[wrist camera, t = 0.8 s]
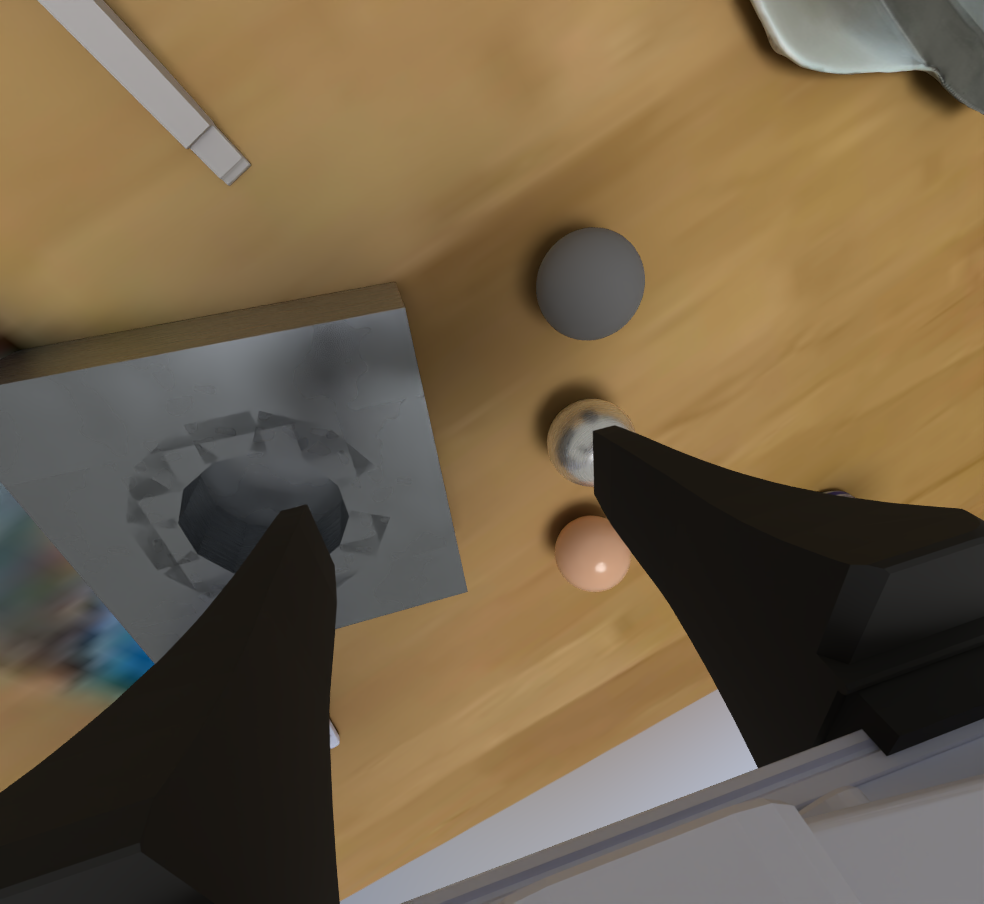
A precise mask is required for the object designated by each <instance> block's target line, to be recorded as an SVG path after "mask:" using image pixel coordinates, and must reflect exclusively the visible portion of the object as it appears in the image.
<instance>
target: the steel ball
mask: <svg viewBox="0 0 984 904" xmlns="http://www.w3.org/2000/svg"><path fill="white" fill-rule="evenodd" d="M613 425H616V426H619V427H622V428H624V429H627V430H629V431H632V432H634V433H636V432H635V429H634V426H633V424H632V422H631V420H630V419H629V417H628V416H627V415H626V414H625V412H624V411H623V410H621V409H620V408H619V407H617V406H616V405H614V404H612V403H610V402H608V401H605V400H600V399H584V400H580V401H576V402H574V403H572V404H570V405H568V406H567V407H565V408H564V409H563V410H562V411H560V412H559V414H558V415H557V416H556V417H555V419H554V420H553V422H552V424H551V426H550V428H549V432H548V437H547V449H548V454H549V457H550V460H551V462H552V464H553V466H554V467H555V468H556V470H557V471H558V472H559V473H560V474H561V475H562V476H563V477H564V478H566V479H567V480H569V481H571V482H573V483H575V484H578V485H582V486H590V487H594V468H593V431H594V430H598V429H602V428H606V427H609V426H613Z"/></svg>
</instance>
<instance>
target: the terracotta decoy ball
mask: <svg viewBox="0 0 984 904" xmlns="http://www.w3.org/2000/svg"><path fill="white" fill-rule="evenodd" d="M555 560H556V564H557V566H558V569H559V571H560V572H561V574H562V576H563V577H564V578H565V579H566V580H567V581H568V582H569V583H570V584H572V585H573V586H575V587H577V588H578V589H581V590H584V591H589V592H600V591H605V590H608V589H610V588H612V587H614V586H616V585H617V584H618V583H619V582H620V581H621V580H622V579H623V578H624V577H625V575H626V573H627V571H628V569H629V566H630V562H631V551H630V550H629V549H628V547H627V546H626V545H625V543H624V542H623V540H622V539H621V538H620V536H619V535H618V534H617V532H616V531H615V530H614V528H613V527H612V525H611V524H610V522H609V520H608V519H606V518H603V517H600V516H583V517H579V518H577V519H574V520H573V521H571V522H570V523H568V524H567V525H566V526H565V527H564V528H563V529H562V531H561V532H560V534H559V536H558V538H557V541H556V544H555Z"/></svg>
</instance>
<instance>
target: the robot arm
mask: <svg viewBox="0 0 984 904" xmlns="http://www.w3.org/2000/svg"><path fill="white" fill-rule="evenodd" d="M593 468H594V495H595V496H596V498H597V500H598V502H599V504H600V506H601V508H602V510H603V512H604V513H605V515H606V517H607V519H608V520H609V522H610V524H611V525H612V527H613V528H614V530H615V531H616V532H617V534H618V535H619V536H620V538H621V539H622V540H623V542H624V543H625V545H626V546H627V547H628V549H629V550H630V551H631V553H632V554H633V555H634V557H635V558H636V559H637V561H638V562H639V563H640V565H641V566H642V567H643V569H644V570H645V571H646V573H647V574H648V575H649V577H650V578H651V579H652V581H653V582H654V583H655V585H656V586H657V587H658V588H659V590H660V591H661V593H662V594H663V596H664V597H665V599H666V600H667V602H668V603H669V604H670V606H671V608H672V609H673V611H674V613H675V614H676V616H677V618H678V619H679V621H680V623H681V625H682V626H683V628H684V630H685V631H686V633H687V635H688V636H689V638H690V640H691V641H692V643H693V645H694V647H695V649H696V650H697V652H698V654H699V656H700V657H701V659H702V661H703V663H704V664H705V666H706V668H707V670H708V672H709V673H710V675H711V677H712V679H713V681H714V683H715V685H716V686H717V688H718V690H719V692H720V694H721V696H722V698H723V699H724V701H725V703H726V705H727V707H728V709H729V711H730V713H731V715H732V717H733V718H734V720H735V722H736V724H737V726H738V728H739V730H740V732H741V734H742V737H743V738H744V740H745V742H746V744H747V747H748V749H749V751H750V753H751V755H752V757H753V759H754V761H755V763H756V765H757V767H758V769H755V770H753V771H750V772H748V773H745V774H742V775H740V776H737V777H734V778H732V779H729V780H726V781H724V782H721V783H718V784H716V785H713V786H710V787H708V788H705V789H703V790H700V791H697V792H695V793H692V794H689V795H687V796H684V797H681V798H679V799H676V800H673V801H671V802H668V803H665V804H663V805H660V806H658V807H655V808H653V809H650V810H647V811H644V812H642V813H639V814H636V815H634V816H631V817H628V818H626V819H623V820H621V821H618V822H615V823H613V824H610V825H607V826H605V827H602V828H599V829H597V830H594V831H592V832H589V833H586V834H584V835H581V836H578V837H576V838H573V839H570V840H568V841H565V842H562V843H560V844H557V845H554V846H552V847H549V848H547V849H544V850H541V851H539V852H536V853H533V854H531V855H528V856H525V857H523V858H520V859H517V860H515V861H512V862H510V863H507V864H504V865H502V866H499V867H496V868H494V869H491V870H489V871H486V872H483V873H481V874H478V875H475V876H473V877H470V878H467V879H465V880H462V881H460V882H457V883H454V884H451V885H449V886H446V887H444V888H441V889H438V890H436V891H433V892H430V893H428V894H425V895H422V896H420V897H417V898H414V899H412V900H409V901H406V902H404V903H401V904H984V521H983V520H981V519H980V518H978V517H976V516H974V515H973V514H971V513H969V512H967V511H965V510H963V509H957V508H945V507H933V506H921V505H909V504H897V503H888V502H880V501H873V500H865V499H858V498H851V497H844V496H838V495H832V494H826V493H821V492H816V491H811V490H806V489H801V488H796V487H791V486H787V485H783V484H779V483H774V482H771V481H767V480H763V479H760V478H756V477H752V476H749V475H745V474H742V473H738V472H735V471H732V470H729V469H726V468H723V467H720V466H717V465H714V464H711V463H709V462H706V461H703V460H700V459H698V458H695V457H692V456H690V455H687V454H685V453H682V452H680V451H677V450H675V449H672V448H670V447H667V446H665V445H663V444H660V443H658V442H656V441H653V440H651V439H649V438H646V437H644V436H641V435H639V434H637V433H634V432H632V431H629V430H627V429H624V428H622V427H619V426H616V425H613V426H609V427H606V428H602V429H598V430H594V431H593ZM336 611H337V592H336V576H335V565H334V563H333V561H332V558H331V556H330V554H329V552H328V549H327V547H326V545H325V543H324V541H323V538H322V536H321V534H320V532H319V529H318V527H317V525H316V523H315V521H314V518H313V516H312V514H311V512H310V509H309V507H308V505H307V504H306V505H302V506H298V507H294V508H290V509H286V510H282V511H280V513H279V514H278V515H277V516H276V518H275V519H274V520H273V522H272V523H271V525H270V526H269V527H268V529H267V530H266V532H265V533H264V535H263V536H262V537H261V539H260V540H259V542H258V543H257V544H256V546H255V547H254V549H253V550H252V551H251V553H250V554H249V555H248V557H247V558H246V560H245V561H244V562H243V564H242V565H241V566H240V568H239V569H238V570H237V572H236V573H235V574H234V576H233V577H232V578H231V579H230V581H229V582H228V583H227V584H226V586H225V587H224V588H223V589H222V591H221V592H220V593H219V594H218V596H217V597H216V598H215V599H214V600H213V602H212V603H211V604H210V605H209V607H208V608H207V609H206V610H205V612H204V613H203V614H202V615H201V616H200V617H199V618H198V620H197V621H196V622H195V623H194V624H193V625H192V626H191V627H190V628H189V630H188V631H187V632H186V633H185V634H184V635H183V636H182V637H181V638H180V639H179V640H178V641H177V642H176V643H175V644H174V645H173V646H172V647H171V649H170V650H169V651H168V652H167V653H166V654H165V655H164V656H163V657H162V658H161V659H160V660H159V661H158V662H157V663H156V664H154V665H153V666H152V667H151V668H150V669H149V670H148V671H147V672H146V673H145V674H144V675H143V676H142V677H140V678H139V679H138V680H137V681H136V682H135V683H134V684H133V685H132V686H131V687H130V688H129V689H128V690H127V691H125V692H124V693H123V694H122V695H121V696H120V697H119V698H118V699H117V700H116V701H115V702H114V703H112V704H111V705H110V706H109V707H108V708H107V709H106V710H104V711H103V712H102V713H101V714H100V715H98V716H97V717H96V718H95V719H94V720H93V721H91V722H90V723H89V724H88V725H87V726H86V727H84V728H83V729H82V730H81V731H79V732H78V733H77V734H76V735H75V736H73V737H72V738H71V739H70V740H68V741H67V742H66V743H65V744H63V745H62V746H61V747H60V748H59V749H57V750H56V751H55V752H54V753H52V754H51V755H50V756H48V757H47V758H46V759H45V760H43V761H42V762H41V763H40V764H38V765H37V766H36V767H34V768H33V769H32V770H30V771H29V772H28V773H26V774H25V775H24V776H22V777H21V778H20V779H18V780H17V781H16V782H14V783H13V784H12V785H10V786H9V787H8V788H6V789H5V790H3V791H2V792H1V793H0V904H340V902H339V890H338V878H337V866H336V852H335V836H334V820H333V804H332V781H331V758H330V749H331V748H334V747H336V746H337V745H338V744H339V743H340V737H339V735H338V733H337V731H336V730H335V728H334V726H333V724H332V723H331V721H330V719H329V708H330V687H331V675H332V662H333V650H334V638H335V625H336Z"/></svg>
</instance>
